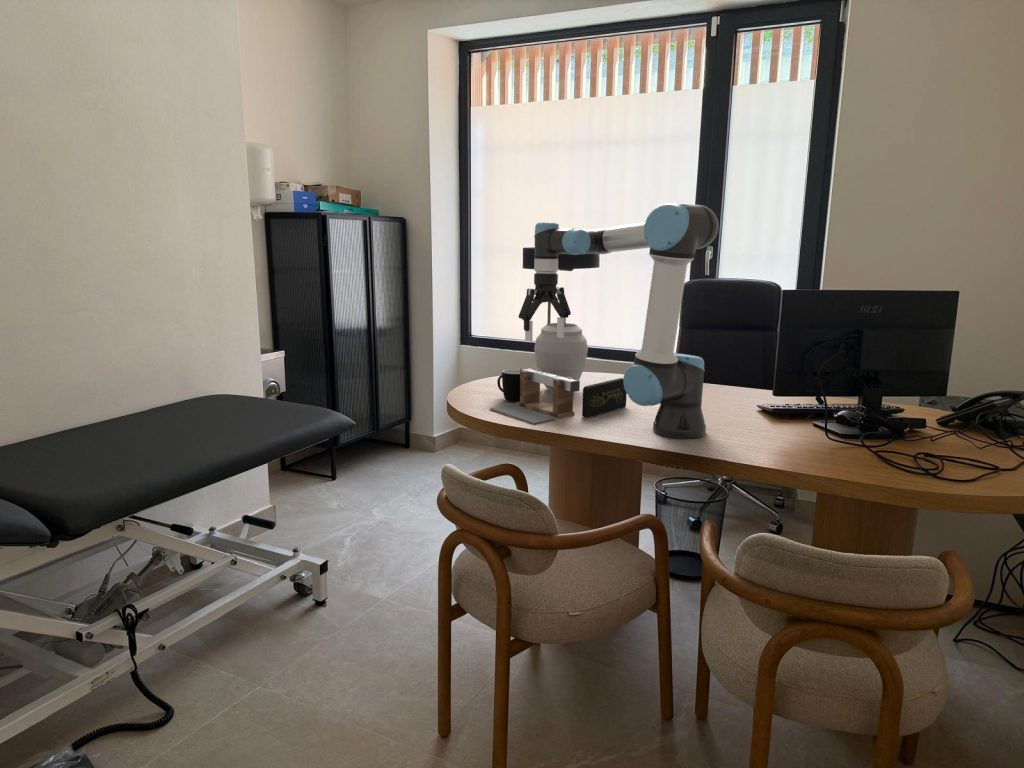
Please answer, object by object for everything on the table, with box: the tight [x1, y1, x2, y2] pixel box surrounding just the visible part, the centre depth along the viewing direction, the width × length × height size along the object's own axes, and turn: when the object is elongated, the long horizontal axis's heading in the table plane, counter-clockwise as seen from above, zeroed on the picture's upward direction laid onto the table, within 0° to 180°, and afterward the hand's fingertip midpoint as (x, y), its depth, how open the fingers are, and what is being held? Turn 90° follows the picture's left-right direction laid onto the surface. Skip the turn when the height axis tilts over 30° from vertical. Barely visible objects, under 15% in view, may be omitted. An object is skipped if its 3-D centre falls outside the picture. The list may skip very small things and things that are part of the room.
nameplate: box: [581, 377, 628, 419], centre depth 224 cm, size 21×2×10 cm, turn 135°
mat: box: [489, 404, 557, 426], centre depth 220 cm, size 22×9×1 cm, turn 39°
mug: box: [496, 368, 521, 403], centre depth 239 cm, size 12×9×10 cm
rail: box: [519, 367, 581, 393], centre depth 223 cm, size 25×3×3 cm, turn 38°
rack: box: [518, 368, 575, 419], centre depth 225 cm, size 20×7×12 cm, turn 39°
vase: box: [533, 322, 589, 393], centre depth 252 cm, size 20×20×24 cm
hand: (544, 339), depth 223 cm, fingers open, 13 cm apart
